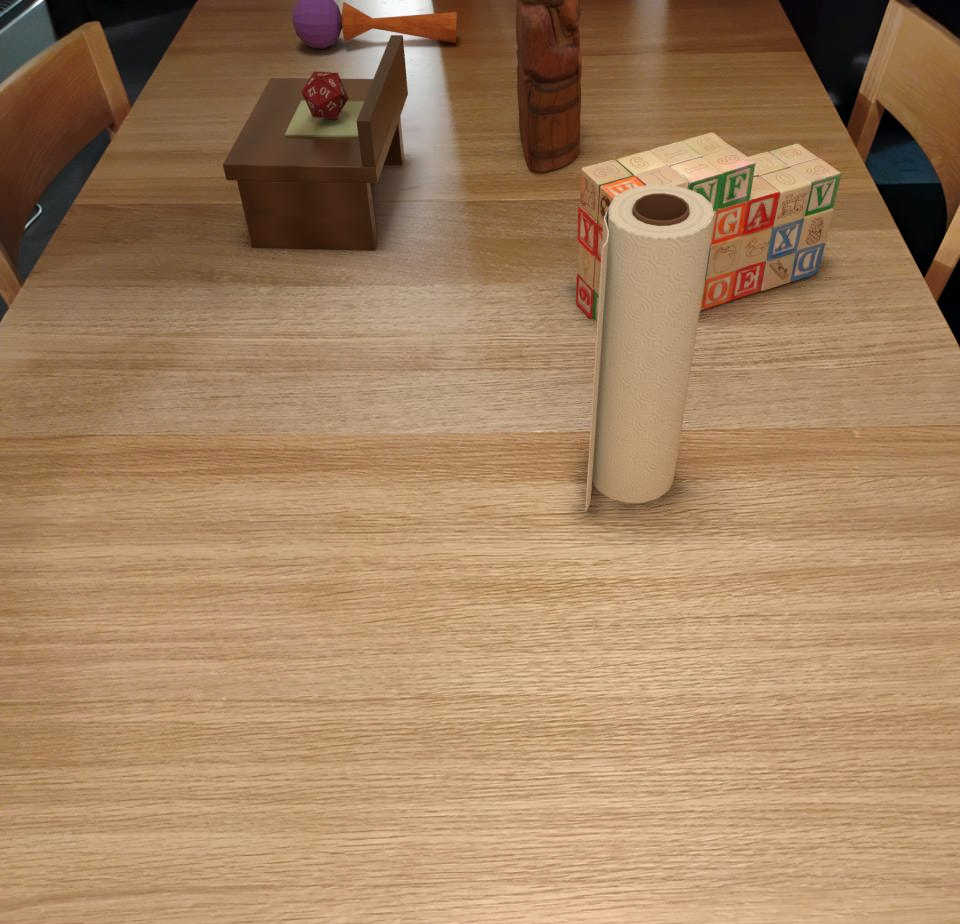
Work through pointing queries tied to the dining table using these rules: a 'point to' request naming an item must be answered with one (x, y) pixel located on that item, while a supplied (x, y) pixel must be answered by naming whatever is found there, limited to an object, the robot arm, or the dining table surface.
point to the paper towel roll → (645, 337)
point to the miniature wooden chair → (319, 160)
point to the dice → (325, 94)
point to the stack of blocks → (722, 212)
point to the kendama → (364, 23)
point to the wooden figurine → (549, 81)
